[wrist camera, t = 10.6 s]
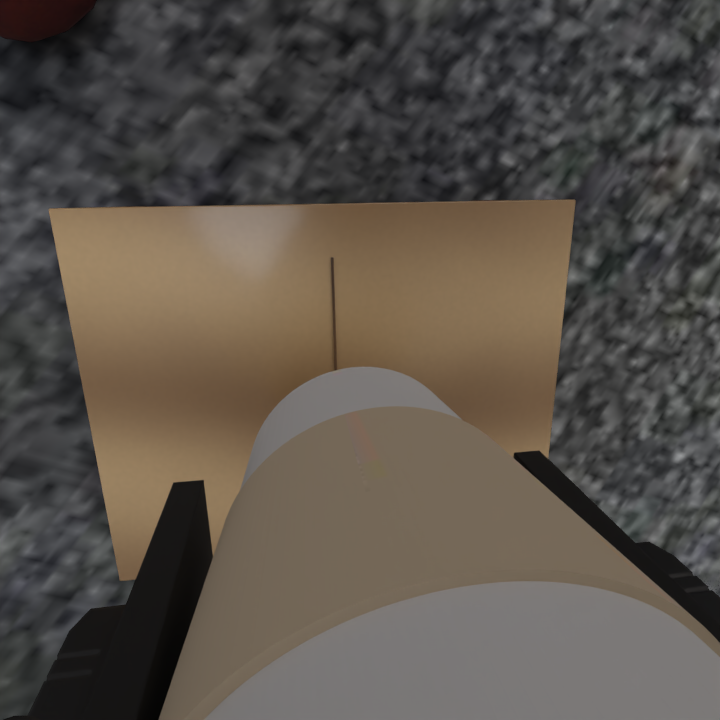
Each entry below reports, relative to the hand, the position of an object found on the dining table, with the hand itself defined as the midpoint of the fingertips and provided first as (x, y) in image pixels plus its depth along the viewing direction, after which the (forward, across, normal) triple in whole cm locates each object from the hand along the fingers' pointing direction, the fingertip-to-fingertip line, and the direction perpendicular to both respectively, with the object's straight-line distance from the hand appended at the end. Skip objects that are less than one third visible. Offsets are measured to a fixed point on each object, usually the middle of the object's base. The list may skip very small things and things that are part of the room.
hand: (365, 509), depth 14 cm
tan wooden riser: (+17, 0, 0) cm, 17 cm away
